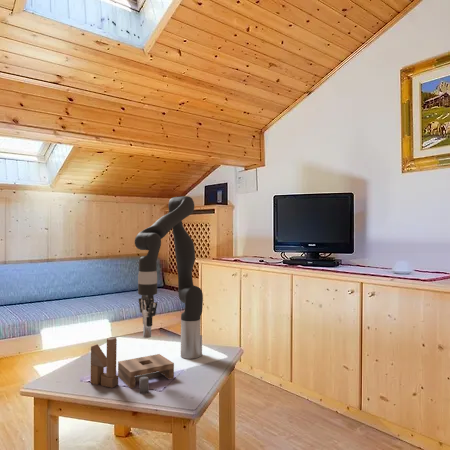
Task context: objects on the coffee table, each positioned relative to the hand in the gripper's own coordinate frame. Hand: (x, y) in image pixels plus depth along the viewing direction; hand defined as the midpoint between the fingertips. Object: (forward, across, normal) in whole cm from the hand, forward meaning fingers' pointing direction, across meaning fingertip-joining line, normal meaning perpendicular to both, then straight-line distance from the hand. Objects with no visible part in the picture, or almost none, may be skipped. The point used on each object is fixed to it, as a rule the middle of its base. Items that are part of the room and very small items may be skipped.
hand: (147, 325), depth 156 cm
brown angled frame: (+21, +3, +16) cm, 27 cm away
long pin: (+5, 0, 0) cm, 5 cm away
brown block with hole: (+21, 0, 0) cm, 21 cm away
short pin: (+21, -12, +7) cm, 25 cm away
